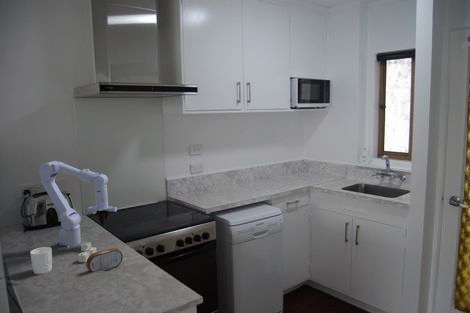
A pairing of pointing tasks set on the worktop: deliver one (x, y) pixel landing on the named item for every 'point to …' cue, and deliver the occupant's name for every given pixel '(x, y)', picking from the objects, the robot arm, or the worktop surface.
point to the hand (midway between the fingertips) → (103, 225)
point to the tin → (104, 259)
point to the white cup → (41, 260)
